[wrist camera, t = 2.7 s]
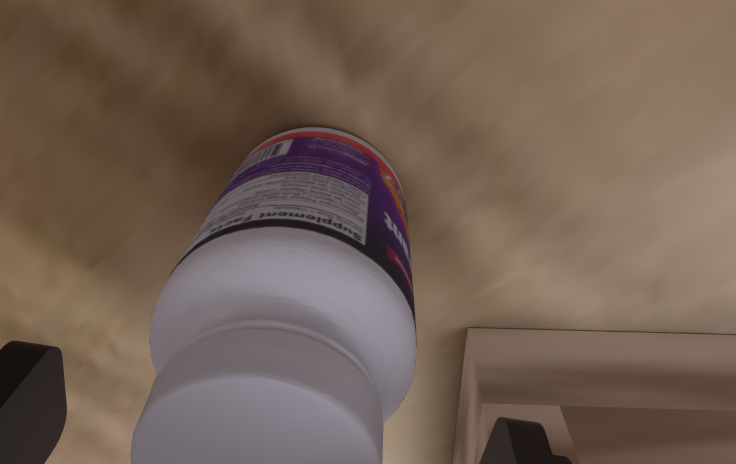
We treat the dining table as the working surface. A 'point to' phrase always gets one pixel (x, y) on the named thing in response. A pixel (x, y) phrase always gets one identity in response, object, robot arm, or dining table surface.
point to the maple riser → (602, 394)
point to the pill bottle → (286, 314)
